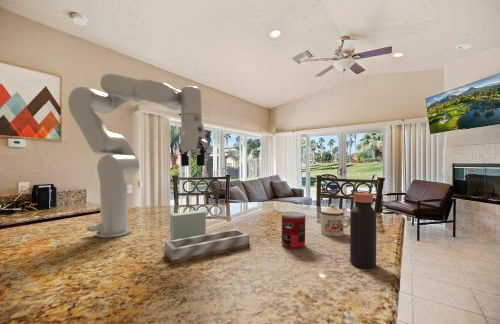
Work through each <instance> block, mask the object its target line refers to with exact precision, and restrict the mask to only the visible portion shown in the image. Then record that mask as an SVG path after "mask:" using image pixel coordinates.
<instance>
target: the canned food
mask: <svg viewBox="0 0 500 324" xmlns="http://www.w3.org/2000/svg"><path fill="white" fill-rule="evenodd" d="M281 244H282V245H281V246H282V247H284V248H286V249H289V250H301V249H304V248H305V245H306V214H305V213H304V212H299V211H284V212H282V213H281Z"/></svg>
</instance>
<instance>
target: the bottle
mask: <svg viewBox="0 0 500 324" xmlns="http://www.w3.org/2000/svg"><path fill="white" fill-rule="evenodd" d="M373 200H374V194H373V193H369V192H354V193H353V202H354V206H353V207H352V208H351V209H350V215H349V217H350V226H349V227H350V229H349V230H350V231H349V232H350V233H349V234H350V235H349V237H350V238H349V245H350V246H349V262H350V263H351V265H353V266H355V267H357V268H361V269H365V270H366V269H367V270H368V269H369V270H370V269H374V268H376V267H377V211H376V210H375V209H374V208H373V206H372V205H373V202H374V201H373Z"/></svg>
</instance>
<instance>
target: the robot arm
mask: <svg viewBox="0 0 500 324" xmlns="http://www.w3.org/2000/svg"><path fill="white" fill-rule="evenodd" d="M99 83H100V87H101V89H102V91H100V90H97V89H95V88H92V87H87V86H86V87H85V86H78V87H75V88H73V89H72V90H71V91H70V93H69V96H68V101H67V102H68V103H67V106H68V110H69V112H70V114H71V116H72V118H73V119H74V121H75V123H76V124H77V125H78V127H79V129H80V131H81V133H82V134H83V137H84V138H85V140H86V143H87V144H88V146H89V148H90V149H91V151H92V152H93V153H94V154H96V155H100V156H102V157H100V158H99V160H98V162H97V165H96V167H97V169H96V170H97V174H98V178H99V191H100V222H99V223H98V224H96V225H88V226H86V232H91V233H92V232H95V235H96V237H98V238H103V239H104V238H105V239H106V238H118V237H123V236H126V235H128V234H131V233H132V231H133V228H132V227H131V226H129V225H128V222H129V221H128V220H129V219H128V218H129V217H128V216H129V214H128V208H129V207H128V185H127V181H126V179H125V178H128V177H133V176H135V175H136V174H137V173H139V170H140V161H139V159H138V157H137V155H136V153H135V152H134V150H133V148H132V146H131V144H130V142H129V140H127V138H126V137H125V136H123V135H122V134H121V133H120V134H119V133H115V132H111V131H110V130H109V129H108V128H107V126H106V125H105V123H104V121H103V119H102V118H101V117H100V116H99V115H98V114H97V113H96V112H99V113H101V114H111V113H113V112H115V111H117V110H119V108H121V107H123V106H124V105H125V104H128V103H129V102H130V101H134V102H142V101H148V102H151V103H155V104H158V105H161V106H164V107H166V108H168V109H171V110H173V111H178V110H180V118H181V119H180V123H181V127H180V139H179V140H180V142H179V143H178V145H177V148H178V152H179V155H180V164H181V166H180V167H188V166H190V157H189V152H190V151H193V152H194V151H195V152H196V153H197V154H196V166H197V167H203V166H205V164H206V162H205V161H206V158H205V157H206V156H205V155H206V152H207V151H208V146H209V142H208V141H207V140H206V134H205V128H204V124H203V121H202V116H203V115H202V91H201V89H200V88H199V87H197V86H191V85H186V86H183V87H182V88H181V89H180V90H179V89H176V88H175V87H173V86H171V85H169V84H167V83H165V82H160V81H156V80H151V79H147V78H146V79H145V78H143V79H139V78H134V77H131V76H126V75H121V74H117V73H107V74H105V75H102V77H101V79H100V82H99ZM103 91H104V92H103Z"/></svg>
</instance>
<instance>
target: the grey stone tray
mask: <svg viewBox="0 0 500 324" xmlns="http://www.w3.org/2000/svg"><path fill="white" fill-rule="evenodd" d="M250 247H251V244H250V234H249V233H247V232H245V231H242V230H240V229H238V228H234V229H230V230H224V231H222V230H221V231H217V232H211V233H207V234H205V235H200V236H194V237H188V238H183V239H177V240H171V241H170V240H166V241H164V255H165V257H167V259H168V260H169V261H170V262H171V264H172V265H176V264H180V263H185V262H189V261H193V260H198V259H202V258H206V257H211V256H214V255H220V254H224V253H228V252H232V251H236V250H241V249H246V248H250Z"/></svg>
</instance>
